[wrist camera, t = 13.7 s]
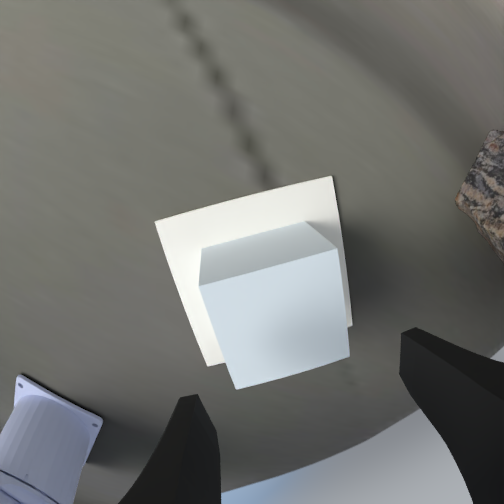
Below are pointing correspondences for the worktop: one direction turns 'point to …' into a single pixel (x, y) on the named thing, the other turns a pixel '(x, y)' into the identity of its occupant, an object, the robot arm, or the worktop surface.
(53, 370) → the worktop surface
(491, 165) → the stone block
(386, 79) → the worktop surface
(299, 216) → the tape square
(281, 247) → the white box
